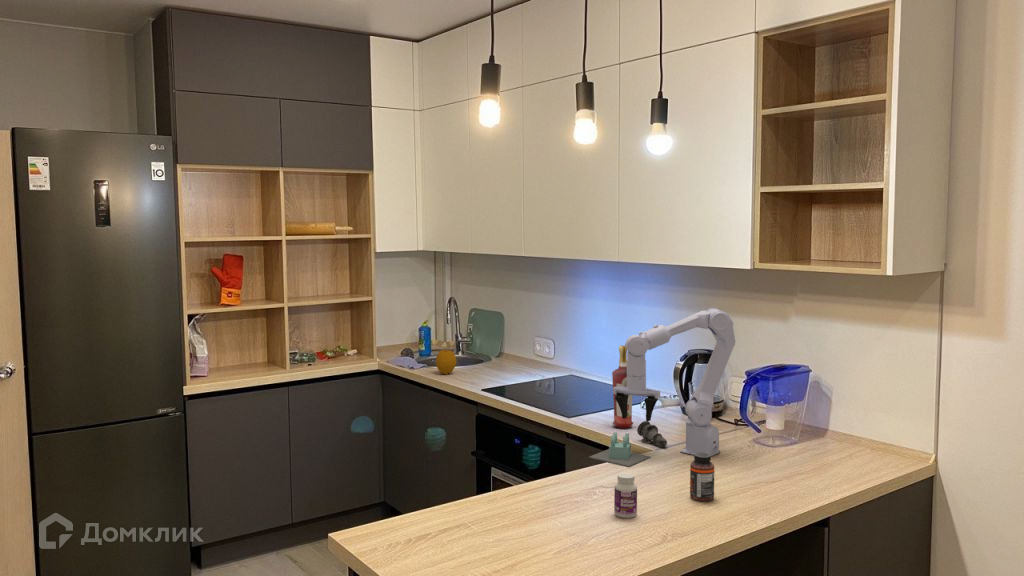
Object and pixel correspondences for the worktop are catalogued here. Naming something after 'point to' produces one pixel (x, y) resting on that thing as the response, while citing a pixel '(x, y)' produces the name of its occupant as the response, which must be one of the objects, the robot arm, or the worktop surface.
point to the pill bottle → (625, 496)
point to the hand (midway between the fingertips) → (636, 419)
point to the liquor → (621, 381)
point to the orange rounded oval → (445, 361)
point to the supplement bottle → (702, 477)
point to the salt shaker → (651, 434)
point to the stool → (620, 447)
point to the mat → (630, 462)
